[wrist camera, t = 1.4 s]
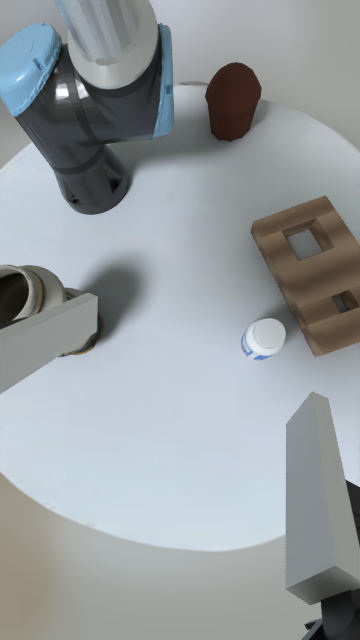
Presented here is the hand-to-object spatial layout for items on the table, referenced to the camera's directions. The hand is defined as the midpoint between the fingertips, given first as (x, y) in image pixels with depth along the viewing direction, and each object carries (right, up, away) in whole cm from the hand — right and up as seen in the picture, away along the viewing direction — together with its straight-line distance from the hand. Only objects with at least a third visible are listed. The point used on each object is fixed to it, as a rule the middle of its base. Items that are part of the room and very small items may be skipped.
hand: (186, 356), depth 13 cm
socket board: (+24, +10, +28) cm, 38 cm away
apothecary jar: (-20, 0, +31) cm, 37 cm away
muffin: (+11, +47, +40) cm, 63 cm away
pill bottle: (+13, -2, +26) cm, 29 cm away
